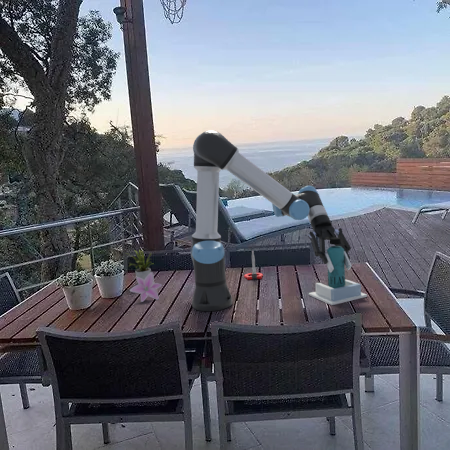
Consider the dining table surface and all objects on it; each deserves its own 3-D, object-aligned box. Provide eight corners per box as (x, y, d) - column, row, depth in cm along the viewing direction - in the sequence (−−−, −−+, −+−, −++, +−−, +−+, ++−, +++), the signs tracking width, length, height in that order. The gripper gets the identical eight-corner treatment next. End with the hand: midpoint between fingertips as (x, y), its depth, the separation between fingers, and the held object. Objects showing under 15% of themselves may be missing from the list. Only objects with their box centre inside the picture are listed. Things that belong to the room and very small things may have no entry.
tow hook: (243, 275, 201) (245, 280, 192) (242, 248, 200) (243, 251, 191) (261, 274, 201) (264, 279, 192) (260, 247, 200) (262, 250, 191)
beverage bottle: (327, 292, 160) (325, 239, 157) (327, 287, 166) (326, 236, 163) (346, 293, 158) (344, 239, 155) (345, 287, 165) (344, 235, 162)
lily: (126, 304, 175) (128, 287, 169) (135, 285, 184) (137, 268, 179) (155, 311, 175) (158, 294, 169) (163, 292, 184) (165, 275, 179)
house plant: (120, 283, 202) (117, 249, 199) (146, 276, 211) (143, 244, 208) (136, 289, 191) (132, 253, 188) (162, 281, 200) (159, 247, 197)
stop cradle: (331, 305, 153) (331, 292, 152) (308, 295, 166) (308, 283, 165) (367, 296, 159) (366, 284, 159) (342, 287, 172) (342, 275, 171)
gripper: (338, 222, 176) (361, 271, 163) (293, 227, 172) (313, 278, 158) (344, 211, 170) (368, 260, 157) (298, 216, 166) (319, 267, 152)
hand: (340, 269), depth 158 cm, fingers closed on beverage bottle, 6 cm apart
